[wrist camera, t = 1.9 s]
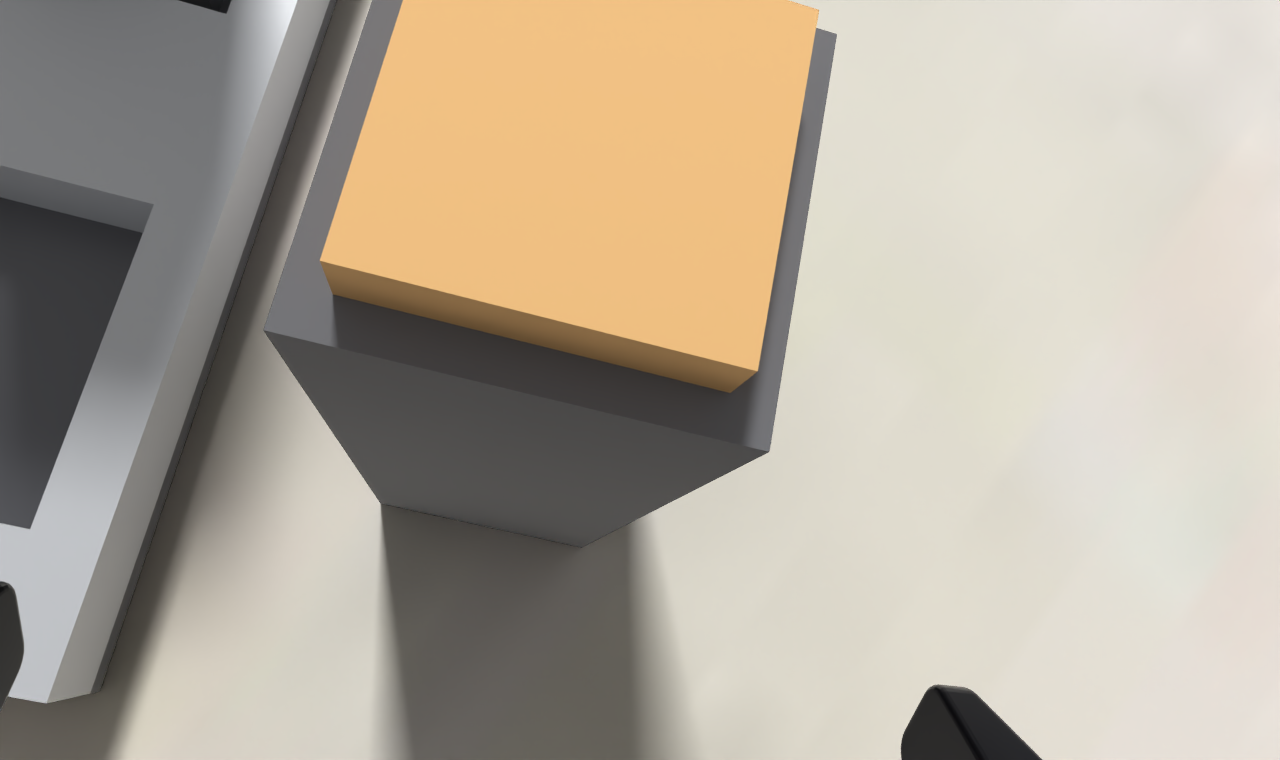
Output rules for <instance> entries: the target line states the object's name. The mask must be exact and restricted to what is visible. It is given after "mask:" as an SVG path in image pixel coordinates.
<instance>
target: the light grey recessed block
mask: <svg viewBox="0 0 1280 760" xmlns="http://www.w3.org/2000/svg"><path fill="white" fill-rule="evenodd" d="M336 1H337V0H223V2H222V5H221V8H220V10H219V12H217V11H214V10H210V9H207V8H203V7H200V6H196V5H193V4H189V3H186V2H182V1H179V0H0V581H4V582H6V583H9V584H10V585H11V586H12V587H13V588H14V589H15V592H16V596H17V602H18V608H19V614H20V620H21V626H22V632H23V638H24V656H23V661H22V664H21V667H20V670H19V673H18V675H17V677H16V679H15V681H14V684H13V686H12V688H11V690H10V692H9V695H8V697H13V698H19V699H24V700H30V701H35V702H41V703H51V702H55V701H60V700H64V699H69V698H73V697H78V696H82V695H87V694H91V693H96V692H100V689H101V686H102V683H103V680H104V677H105V674H106V671H107V669H108V666H109V663H110V660H111V657H112V654H113V651H114V648H115V645H116V642H117V639H118V636H119V634H120V631H121V628H122V625H123V622H124V619H125V616H126V613H127V610H128V607H129V604H130V602H131V599H132V596H133V593H134V590H135V587H136V584H137V581H138V578H139V575H140V572H141V569H142V567H143V564H144V561H145V558H146V555H147V552H148V549H149V546H150V543H151V540H152V537H153V535H154V532H155V529H156V526H157V523H158V520H159V517H160V514H161V511H162V508H163V505H164V502H165V500H166V497H167V494H168V491H169V488H170V485H171V482H172V479H173V476H174V473H175V470H176V468H177V465H178V462H179V459H180V456H181V453H182V450H183V447H184V444H185V441H186V438H187V435H188V433H189V430H190V427H191V424H192V421H193V418H194V415H195V412H196V409H197V406H198V403H199V400H200V398H201V395H202V392H203V389H204V386H205V383H206V380H207V377H208V374H209V371H210V368H211V366H212V363H213V360H214V357H215V354H216V351H217V348H218V345H219V342H220V339H221V336H222V333H223V331H224V328H225V325H226V322H227V319H228V316H229V313H230V310H231V307H232V304H233V301H234V299H235V296H236V293H237V290H238V287H239V284H240V281H241V278H242V275H243V272H244V269H245V266H246V264H247V261H248V258H249V255H250V252H251V249H252V246H253V243H254V240H255V237H256V234H257V232H258V229H259V226H260V223H261V220H262V217H263V214H264V211H265V208H266V205H267V202H268V199H269V197H270V194H271V191H272V188H273V185H274V182H275V179H276V176H277V173H278V170H279V167H280V164H281V162H282V159H283V156H284V153H285V150H286V147H287V144H288V141H289V138H290V135H291V132H292V130H293V127H294V124H295V121H296V118H297V115H298V112H299V109H300V106H301V103H302V100H303V97H304V95H305V92H306V89H307V86H308V83H309V80H310V77H311V74H312V71H313V68H314V65H315V63H316V60H317V57H318V54H319V51H320V48H321V45H322V42H323V39H324V36H325V33H326V30H327V28H328V25H329V22H330V19H331V16H332V13H333V10H334V7H335V4H336Z"/></svg>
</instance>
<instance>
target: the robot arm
mask: <svg viewBox="0 0 1280 760" xmlns="http://www.w3.org/2000/svg"><path fill="white" fill-rule="evenodd" d="M23 656H24V638H23V632H22V626H21V620H20V614H19V608H18V602H17V596H16V592H15V589H14V588H13V587H12V586H11V585H10V584H9V583H6V582H4V581H0V712H1V710H2V708H3V705H4V703H5V701H6V699H7V697H8V695H9V692H10V690H11V688H12V686H13V684H14V681H15V679H16V677H17V675H18V673H19V670H20V667H21V664H22V661H23ZM901 758H902V760H1042V759H1041V758H1040V757H1039V756H1038V755H1037V754H1036V753H1035V752H1034V751H1033V750H1032V749H1031V748H1030V747H1029V746H1028V745H1027V744H1026V743H1025V742H1024V741H1023V740H1022V739H1021V738H1020V737H1019V736H1018V735H1017V734H1016V733H1015V732H1014V731H1013V730H1012V729H1011V728H1010V727H1009V726H1008V725H1007V724H1006V723H1005V722H1004V721H1003V720H1002V719H1001V718H1000V717H999V716H998V715H997V714H996V713H995V712H994V711H993V710H992V709H991V708H990V707H989V706H988V705H987V704H986V703H985V702H984V701H983V700H982V699H981V698H980V697H979V696H978V695H977V694H976V693H974V692H973V691H972V690H970V689H968V688H965V687H957V686H948V685H939V684H938V685H933V686H932V687H930V688H929V689H928V690H927V691H926V692H925V694H924V696H923V698H922V700H921V702H920V703H919V705H918V707H917V709H916V711H915V713H914V715H913V716H912V718H911V720H910V722H909V724H908V726H907V728H906V729H905V732H904V734H903V738H902V743H901Z"/></svg>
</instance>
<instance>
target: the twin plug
mask: <svg viewBox="0 0 1280 760" xmlns="http://www.w3.org/2000/svg"><path fill="white" fill-rule="evenodd" d="M179 1H182V2H186V3H189V4H193V5H196V6H200V7H203V8H207V9H210V10H214V11H217V12H219V10H220V8H221V5H222V2H223V0H179Z"/></svg>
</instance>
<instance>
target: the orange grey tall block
mask: <svg viewBox="0 0 1280 760" xmlns="http://www.w3.org/2000/svg"><path fill="white" fill-rule="evenodd" d="M818 14H819V10H818V9H814V8H811V7H808V6H805V5H801V4H798V3H795V2H792V1H789V0H372V3H371V6H370V9H369V12H368V15H367V18H366V21H365V24H364V27H363V30H362V33H361V36H360V39H359V42H358V45H357V48H356V51H355V54H354V57H353V60H352V63H351V66H350V69H349V72H348V75H347V78H346V81H345V84H344V87H343V91H342V94H341V97H340V100H339V103H338V106H337V109H336V112H335V115H334V118H333V121H332V124H331V127H330V130H329V133H328V136H327V139H326V142H325V145H324V148H323V151H322V154H321V157H320V160H319V163H318V166H317V169H316V172H315V175H314V178H313V181H312V184H311V187H310V190H309V193H308V196H307V199H306V202H305V206H304V209H303V212H302V215H301V218H300V221H299V224H298V227H297V230H296V233H295V236H294V239H293V242H292V245H291V248H290V251H289V254H288V257H287V260H286V263H285V266H284V269H283V272H282V275H281V278H280V281H279V284H278V287H277V290H276V293H275V296H274V299H273V302H272V305H271V308H270V311H269V314H268V317H267V321H266V324H265V327H264V332H265V333H266V335H267V336H268V338H269V339H270V341H271V342H272V344H273V345H274V347H275V348H276V349H277V351H278V352H279V354H280V355H281V357H282V358H283V360H284V361H285V363H286V364H287V366H288V367H289V369H290V370H291V372H292V373H293V375H294V376H295V378H296V379H297V380H298V382H299V383H300V385H301V386H302V388H303V389H304V391H305V392H306V394H307V395H308V397H309V398H310V400H311V401H312V403H313V404H314V406H315V407H316V409H317V410H318V412H319V413H320V414H321V416H322V417H323V419H324V420H325V422H326V423H327V425H328V426H329V428H330V429H331V431H332V432H333V434H334V435H335V437H336V438H337V440H338V441H339V443H340V444H341V446H342V447H343V448H344V450H345V451H346V453H347V454H348V456H349V457H350V459H351V460H352V462H353V463H354V465H355V466H356V468H357V469H358V471H359V472H360V474H361V475H362V477H363V478H364V480H365V481H366V482H367V484H368V485H369V487H370V488H371V490H372V491H373V493H374V494H375V496H376V497H377V499H378V500H379V502H380V503H381V504H386V505H390V506H395V507H399V508H404V509H408V510H413V511H417V512H422V513H427V514H431V515H436V516H440V517H445V518H449V519H454V520H458V521H463V522H467V523H472V524H477V525H481V526H486V527H490V528H495V529H499V530H504V531H508V532H513V533H518V534H522V535H527V536H531V537H536V538H540V539H545V540H549V541H554V542H558V543H563V544H568V545H572V546H577V547H581V548H582V547H584V546H585V545H587V544H589V543H591V542H593V541H595V540H597V539H599V538H601V537H603V536H605V535H607V534H609V533H611V532H613V531H615V530H617V529H619V528H621V527H623V526H625V525H627V524H629V523H631V522H633V521H635V520H637V519H638V518H640V517H642V516H644V515H646V514H648V513H650V512H652V511H654V510H656V509H658V508H660V507H662V506H664V505H666V504H668V503H670V502H672V501H674V500H676V499H678V498H680V497H682V496H684V495H686V494H688V493H690V492H691V491H693V490H695V489H697V488H699V487H701V486H703V485H705V484H707V483H709V482H711V481H713V480H715V479H717V478H719V477H721V476H723V475H725V474H727V473H729V472H731V471H733V470H735V469H737V468H739V467H741V466H743V465H744V464H746V463H748V462H750V461H752V460H754V459H756V458H758V457H760V456H762V455H764V454H766V453H768V452H769V451H770V444H771V438H772V432H773V426H774V420H775V414H776V407H777V401H778V395H779V389H780V383H781V376H782V370H783V364H784V358H785V352H786V346H787V339H788V333H789V327H790V321H791V315H792V309H793V302H794V296H795V290H796V284H797V278H798V272H799V265H800V259H801V253H802V247H803V241H804V234H805V228H806V222H807V216H808V210H809V204H810V197H811V191H812V185H813V179H814V173H815V167H816V160H817V154H818V148H819V142H820V136H821V130H822V123H823V117H824V111H825V105H826V99H827V93H828V86H829V80H830V74H831V68H832V62H833V55H834V49H835V43H836V37H837V34H834V33H831V32H828V31H825V30H821V29H818V28H816V25H817V19H818Z"/></svg>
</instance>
